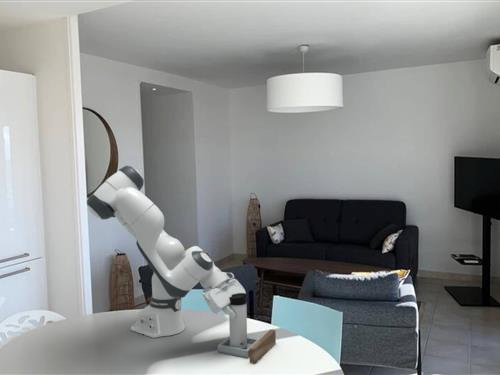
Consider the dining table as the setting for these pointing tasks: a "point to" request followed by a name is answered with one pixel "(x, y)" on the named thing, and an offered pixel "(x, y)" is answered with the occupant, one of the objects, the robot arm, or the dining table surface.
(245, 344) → the travel mug
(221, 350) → the slate tray
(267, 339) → the walnut rail
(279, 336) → the dining table surface
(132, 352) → the dining table surface
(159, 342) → the dining table surface
